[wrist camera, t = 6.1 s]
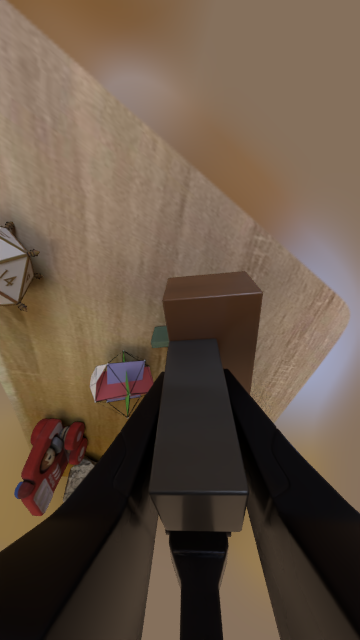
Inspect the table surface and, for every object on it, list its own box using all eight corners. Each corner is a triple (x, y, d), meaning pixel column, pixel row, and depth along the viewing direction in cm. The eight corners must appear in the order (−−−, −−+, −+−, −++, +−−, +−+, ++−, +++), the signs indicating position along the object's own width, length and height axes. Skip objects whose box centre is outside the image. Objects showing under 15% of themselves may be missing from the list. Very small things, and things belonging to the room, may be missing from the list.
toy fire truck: (82, 411, 32) (42, 490, 24) (90, 448, 39) (60, 521, 30) (40, 406, 32) (-17, 484, 23) (54, 444, 38) (14, 517, 30)
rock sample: (110, 498, 42) (67, 529, 35) (93, 471, 46) (52, 494, 40) (123, 456, 41) (81, 478, 34) (104, 433, 46) (64, 448, 39)
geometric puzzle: (173, 362, 23) (116, 404, 17) (164, 399, 27) (114, 443, 21) (134, 333, 26) (74, 360, 21) (130, 369, 30) (79, 400, 24)
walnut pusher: (238, 368, 15) (295, 551, 7) (180, 371, 15) (173, 548, 7) (245, 270, 11) (390, 439, 3) (167, 277, 11) (122, 445, 3)
